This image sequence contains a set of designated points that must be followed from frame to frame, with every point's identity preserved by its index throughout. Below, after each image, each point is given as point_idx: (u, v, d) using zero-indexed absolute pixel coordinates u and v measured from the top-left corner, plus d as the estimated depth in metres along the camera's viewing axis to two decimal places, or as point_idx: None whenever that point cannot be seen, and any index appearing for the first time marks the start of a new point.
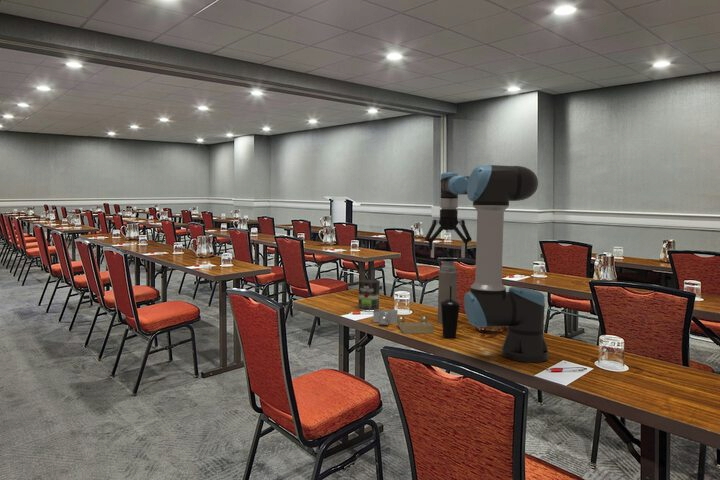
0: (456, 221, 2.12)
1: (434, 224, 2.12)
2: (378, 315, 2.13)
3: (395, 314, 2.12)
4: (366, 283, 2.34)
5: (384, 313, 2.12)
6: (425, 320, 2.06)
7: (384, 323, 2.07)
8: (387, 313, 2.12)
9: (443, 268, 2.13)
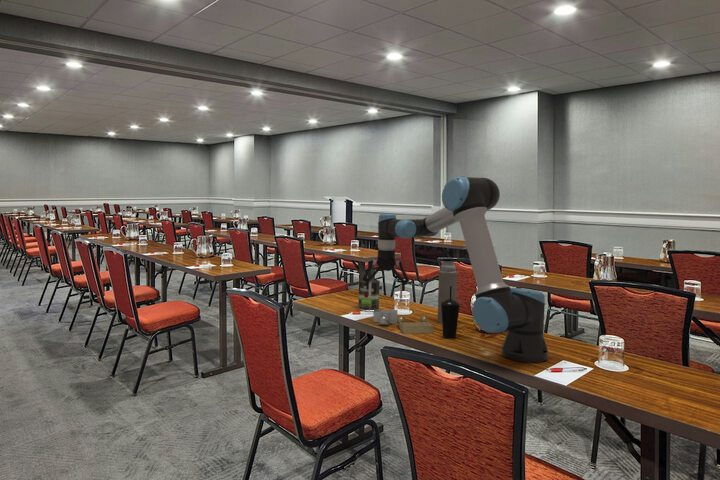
0: (393, 262, 2.12)
1: (370, 264, 2.13)
2: (378, 315, 2.13)
3: (395, 314, 2.12)
4: None
5: (384, 313, 2.13)
6: (425, 320, 2.06)
7: (384, 323, 2.07)
8: (387, 313, 2.12)
9: (443, 268, 2.13)
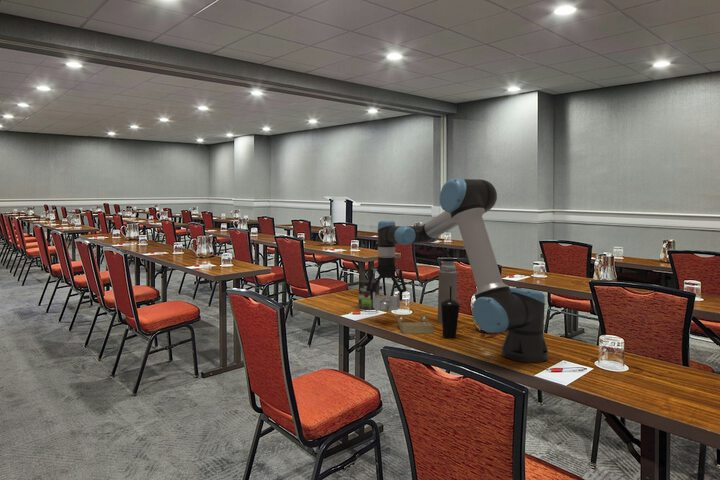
0: (393, 269, 2.12)
1: (371, 273, 2.13)
2: (379, 301, 2.12)
3: (396, 300, 2.11)
4: (366, 283, 2.34)
5: (385, 299, 2.12)
6: (425, 320, 2.06)
7: (385, 308, 2.06)
8: (388, 299, 2.11)
9: (443, 268, 2.13)
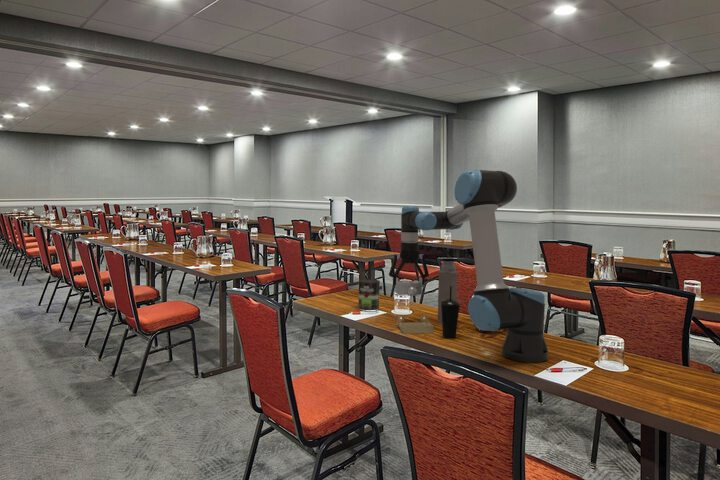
0: (417, 254, 2.13)
1: (395, 259, 2.12)
2: (403, 286, 2.12)
3: (420, 284, 2.13)
4: (366, 283, 2.34)
5: (409, 284, 2.12)
6: (425, 320, 2.06)
7: (414, 293, 2.06)
8: (412, 284, 2.12)
9: (443, 268, 2.13)
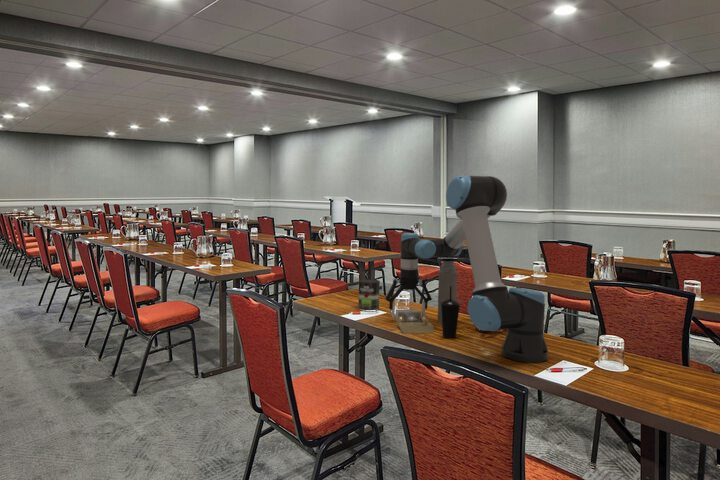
0: (416, 281, 2.14)
1: (394, 284, 2.13)
2: (403, 315, 2.13)
3: (419, 313, 2.14)
4: (366, 283, 2.34)
5: (409, 313, 2.13)
6: (425, 320, 2.06)
7: None
8: (412, 313, 2.13)
9: (443, 268, 2.13)
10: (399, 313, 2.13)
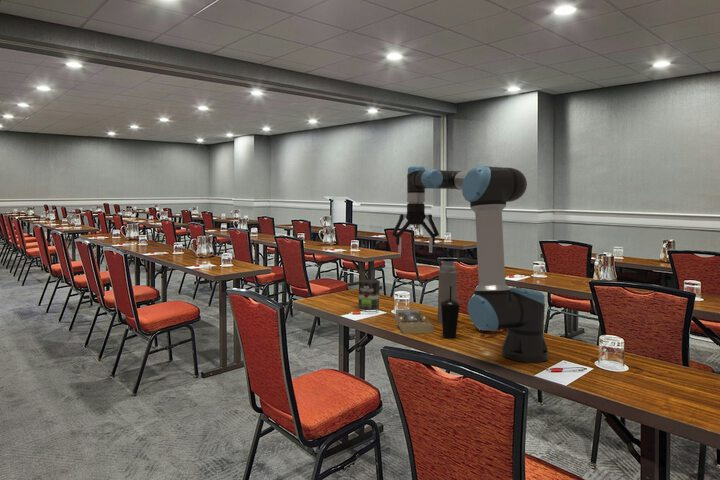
0: (423, 216, 2.10)
1: (401, 219, 2.09)
2: (403, 315, 2.13)
3: (419, 313, 2.14)
4: (366, 283, 2.34)
5: (409, 313, 2.13)
6: (425, 320, 2.06)
7: None
8: (412, 313, 2.13)
9: (443, 268, 2.13)
10: (399, 313, 2.13)
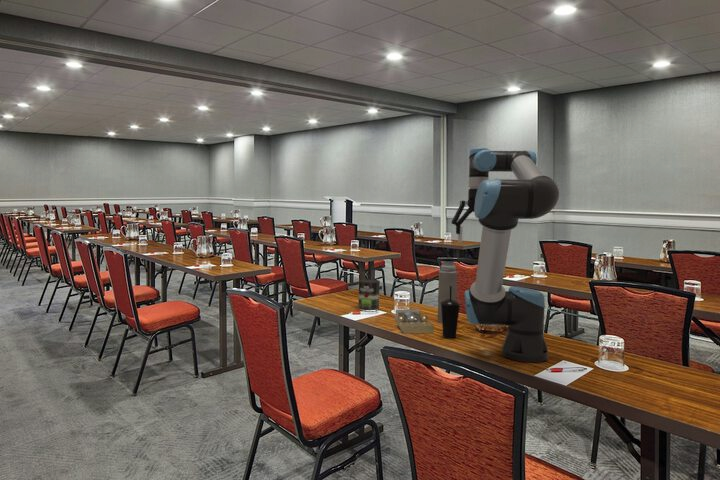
0: None
1: (462, 205, 1.90)
2: (403, 315, 2.13)
3: (419, 313, 2.14)
4: (366, 283, 2.34)
5: (409, 313, 2.13)
6: (425, 320, 2.06)
7: None
8: (412, 313, 2.13)
9: (443, 268, 2.13)
10: (399, 313, 2.13)
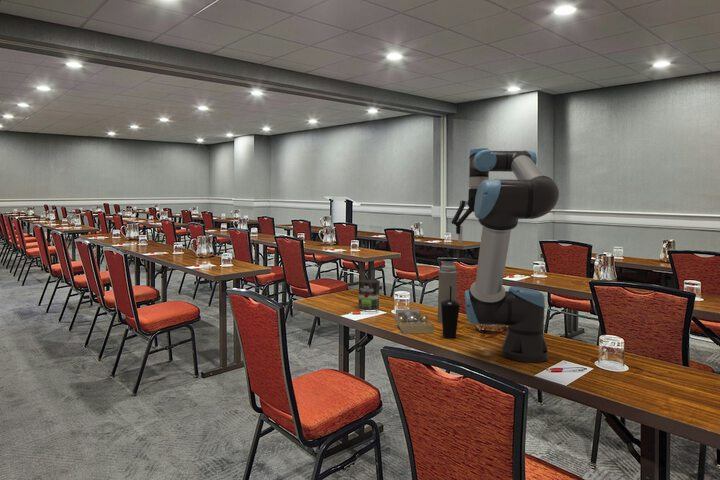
0: None
1: (462, 205, 1.90)
2: (403, 315, 2.13)
3: (419, 313, 2.14)
4: (366, 283, 2.34)
5: (409, 313, 2.13)
6: (425, 320, 2.06)
7: None
8: (412, 313, 2.13)
9: (443, 268, 2.13)
10: (399, 313, 2.13)
